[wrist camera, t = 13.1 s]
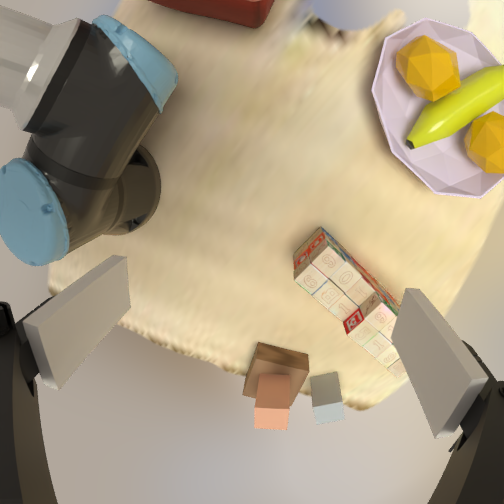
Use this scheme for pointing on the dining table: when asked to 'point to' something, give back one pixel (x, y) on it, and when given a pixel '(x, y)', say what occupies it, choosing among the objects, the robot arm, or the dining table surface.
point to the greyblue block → (327, 398)
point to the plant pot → (224, 9)
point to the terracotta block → (272, 401)
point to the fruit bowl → (443, 107)
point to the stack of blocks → (349, 296)
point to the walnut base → (276, 368)
